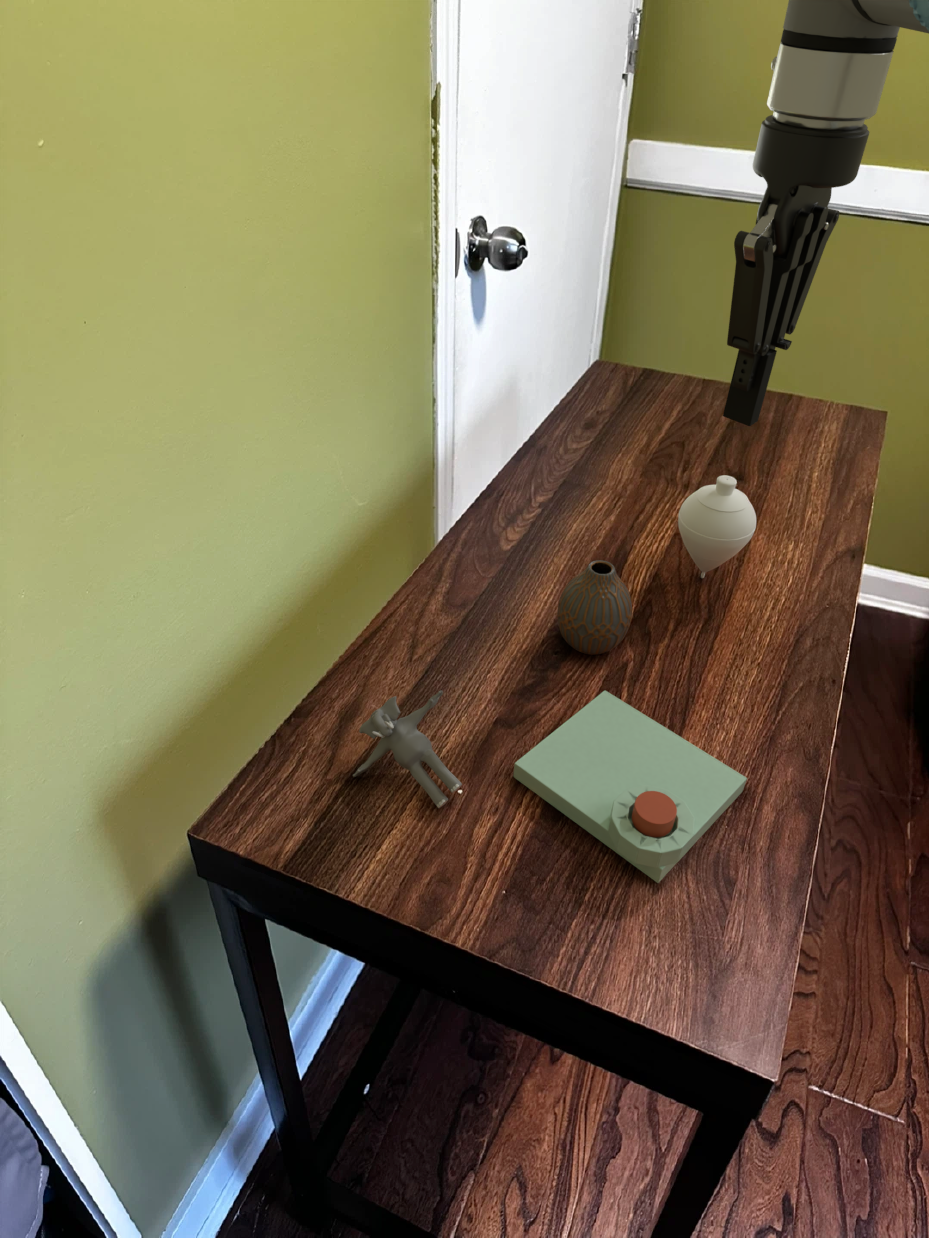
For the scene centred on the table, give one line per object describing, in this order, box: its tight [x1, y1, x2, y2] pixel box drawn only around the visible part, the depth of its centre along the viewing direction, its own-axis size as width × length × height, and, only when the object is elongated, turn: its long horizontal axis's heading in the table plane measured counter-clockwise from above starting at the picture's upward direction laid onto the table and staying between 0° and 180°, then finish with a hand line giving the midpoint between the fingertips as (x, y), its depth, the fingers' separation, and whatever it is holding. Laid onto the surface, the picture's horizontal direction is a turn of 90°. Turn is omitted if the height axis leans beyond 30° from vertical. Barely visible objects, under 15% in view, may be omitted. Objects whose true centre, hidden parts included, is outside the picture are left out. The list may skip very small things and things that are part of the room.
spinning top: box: [677, 474, 757, 579], centre depth 87 cm, size 8×8×12 cm
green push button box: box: [512, 690, 748, 884], centre depth 67 cm, size 14×13×4 cm
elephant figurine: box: [352, 689, 463, 809], centre depth 67 cm, size 10×6×9 cm
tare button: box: [632, 791, 677, 837], centre depth 62 cm, size 3×3×2 cm
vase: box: [556, 559, 633, 656], centre depth 80 cm, size 7×7×9 cm
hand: (740, 418), depth 77 cm, fingers closed
